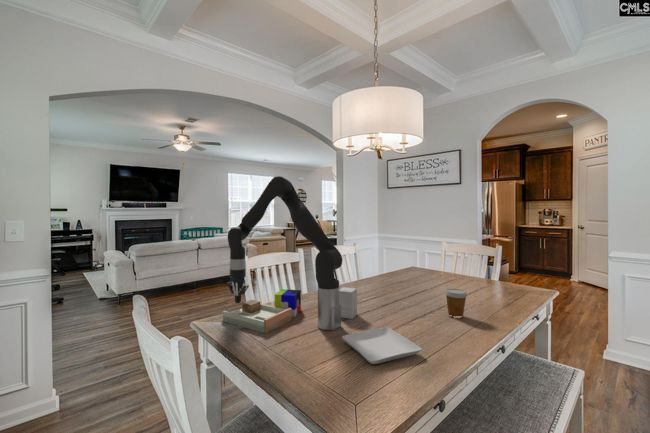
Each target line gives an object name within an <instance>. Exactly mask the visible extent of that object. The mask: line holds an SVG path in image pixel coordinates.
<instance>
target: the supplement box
mask: <svg viewBox="0 0 650 433" xmlns="http://www.w3.org/2000/svg"><path fill="white" fill-rule="evenodd" d="M357 291H358V290H357V288H354V287H353V288H352V287H345V286H343V287H341V288H339V304H341V319H342V318H343V319H344V318H345V319H350V320H353V319H354V318H355V317H356V316H357V315H358V292H357Z"/></svg>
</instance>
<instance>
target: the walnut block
mask: <svg viewBox="0 0 650 433" xmlns="http://www.w3.org/2000/svg"><path fill="white" fill-rule="evenodd" d="M260 304H261V301H259V300H255V299H250V300H247V301H246V300H245V301H244V302H241V309H242V311H243V312H247V313H254V312H256V311H259V310H260Z"/></svg>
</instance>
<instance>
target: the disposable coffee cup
mask: <svg viewBox="0 0 650 433" xmlns="http://www.w3.org/2000/svg"><path fill="white" fill-rule="evenodd" d="M445 296H446V298H445V299H446V305H447V312H448V313H447V314H449V315H452V316H463V317H464V311H465V305H466V299H467V296H468V294H467V291H465V290H464V289H460V288H447V289H446V291H445ZM449 315H448V316H449Z"/></svg>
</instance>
